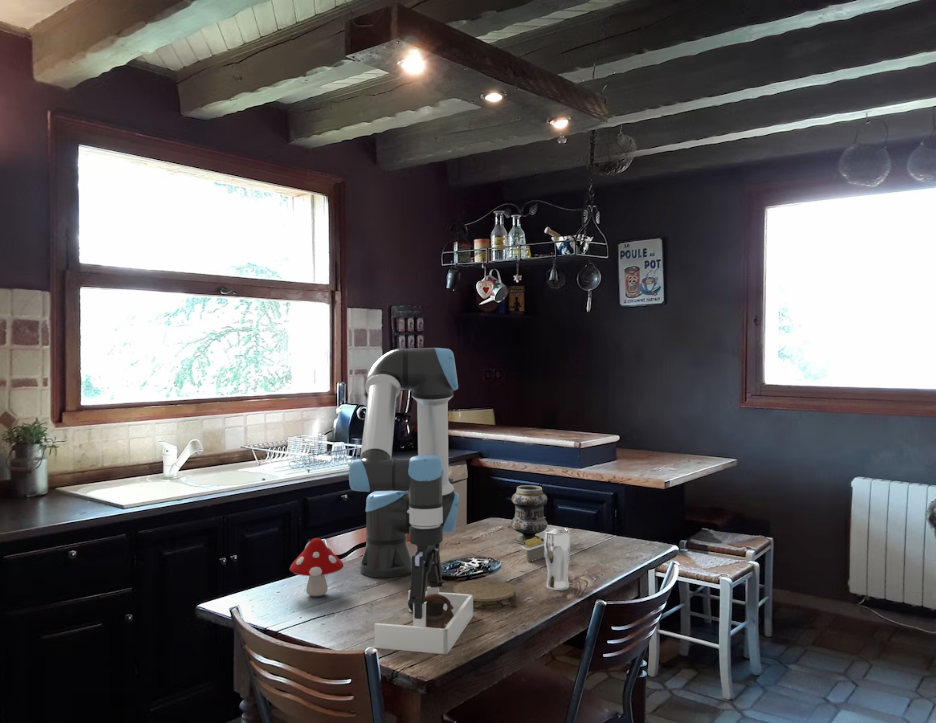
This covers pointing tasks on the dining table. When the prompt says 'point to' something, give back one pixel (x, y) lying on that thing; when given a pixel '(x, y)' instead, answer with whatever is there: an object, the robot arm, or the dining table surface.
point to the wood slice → (487, 593)
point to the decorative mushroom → (316, 566)
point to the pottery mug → (436, 610)
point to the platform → (534, 548)
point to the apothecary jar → (529, 512)
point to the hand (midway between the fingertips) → (426, 623)
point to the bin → (427, 629)
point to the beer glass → (557, 557)
